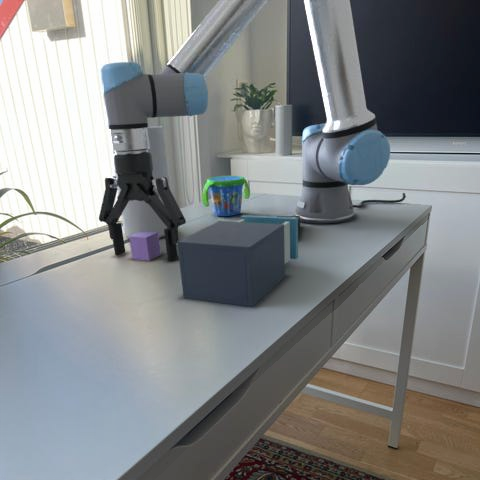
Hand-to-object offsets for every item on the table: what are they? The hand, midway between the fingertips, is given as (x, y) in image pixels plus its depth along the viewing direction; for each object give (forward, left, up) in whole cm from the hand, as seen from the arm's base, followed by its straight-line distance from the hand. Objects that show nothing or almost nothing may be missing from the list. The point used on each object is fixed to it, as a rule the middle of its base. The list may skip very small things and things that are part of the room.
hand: (145, 256), depth 102 cm
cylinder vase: (-5, -20, 0) cm, 21 cm away
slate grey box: (-10, +27, 0) cm, 29 cm away
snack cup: (-30, -30, 0) cm, 43 cm away
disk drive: (-32, -2, 0) cm, 32 cm away
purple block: (0, 0, 0) cm, 0 cm away
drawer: (-19, +19, +1) cm, 27 cm away
